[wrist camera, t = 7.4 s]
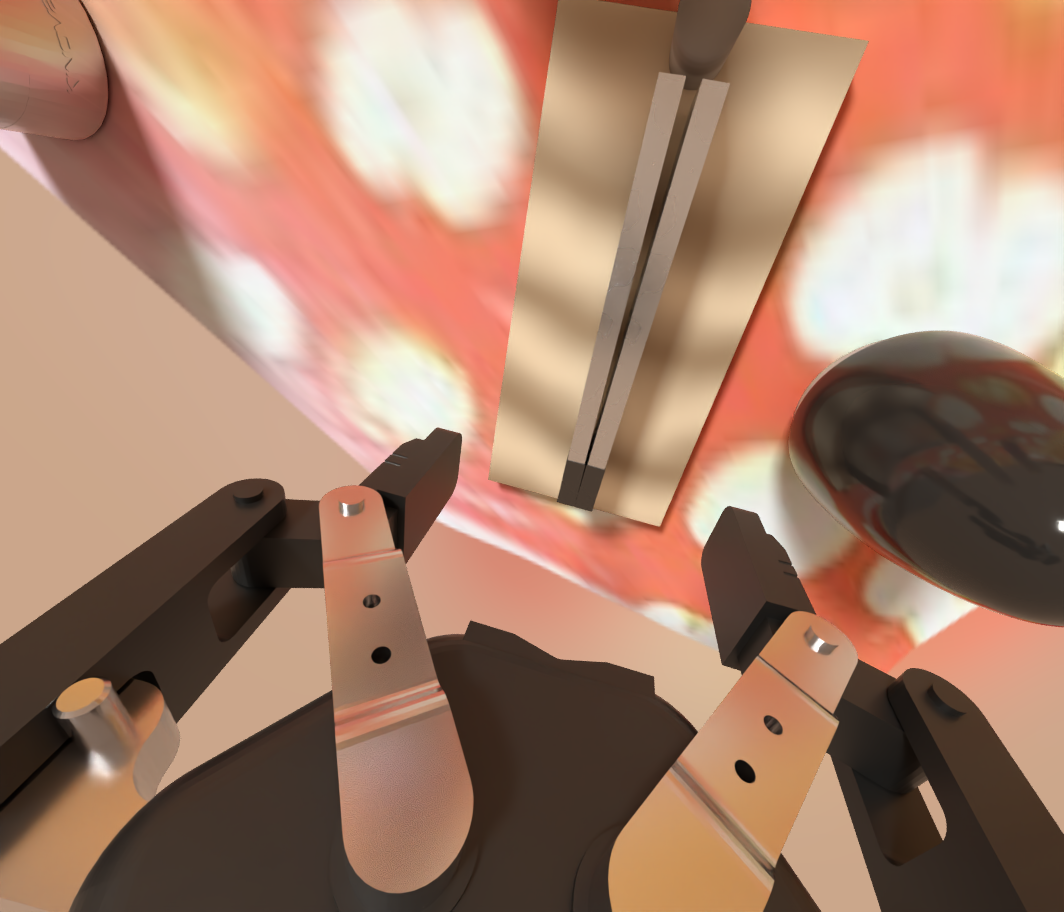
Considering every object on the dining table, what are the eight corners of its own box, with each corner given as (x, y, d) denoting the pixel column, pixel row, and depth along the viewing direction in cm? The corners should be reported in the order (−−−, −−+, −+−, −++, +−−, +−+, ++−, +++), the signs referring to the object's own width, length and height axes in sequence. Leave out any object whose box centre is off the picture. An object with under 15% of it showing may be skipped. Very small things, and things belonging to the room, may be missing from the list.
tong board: (564, 9, 20) (538, -66, 15) (852, 53, 18) (934, -12, 13) (494, 469, 33) (467, 513, 28) (658, 514, 31) (662, 569, 26)
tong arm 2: (689, 105, 19) (701, 77, 15) (714, 110, 19) (731, 83, 15) (581, 472, 29) (574, 506, 25) (597, 476, 29) (592, 511, 25)
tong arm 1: (653, 100, 19) (657, 71, 15) (678, 103, 19) (687, 75, 15) (566, 468, 29) (556, 501, 26) (582, 472, 29) (574, 506, 25)
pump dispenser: (1025, 392, 23) (1539, 612, 10) (845, 505, 28) (1026, 747, 15) (897, 270, 22) (1295, 339, 9) (733, 413, 27) (825, 590, 14)
